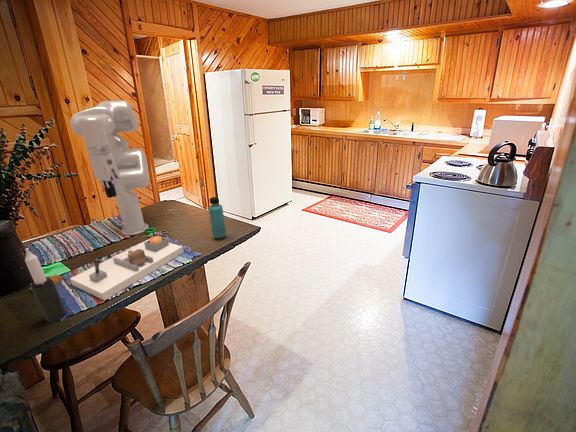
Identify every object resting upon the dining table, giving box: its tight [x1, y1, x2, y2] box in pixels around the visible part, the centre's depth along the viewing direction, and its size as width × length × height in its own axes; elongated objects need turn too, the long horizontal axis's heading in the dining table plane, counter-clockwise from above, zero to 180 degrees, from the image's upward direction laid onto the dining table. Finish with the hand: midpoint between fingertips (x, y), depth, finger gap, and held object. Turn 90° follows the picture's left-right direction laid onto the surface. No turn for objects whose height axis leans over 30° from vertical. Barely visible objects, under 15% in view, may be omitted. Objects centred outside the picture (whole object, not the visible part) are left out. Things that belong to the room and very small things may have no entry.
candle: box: [24, 247, 67, 324], centre depth 94 cm, size 5×5×25 cm
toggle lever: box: [93, 258, 101, 274], centre depth 110 cm, size 2×2×7 cm
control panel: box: [70, 237, 184, 302], centre depth 123 cm, size 20×36×6 cm, turn 151°
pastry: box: [29, 274, 63, 291], centre depth 115 cm, size 9×7×4 cm
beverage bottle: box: [208, 196, 227, 239], centre depth 142 cm, size 6×7×20 cm
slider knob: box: [128, 249, 146, 266], centre depth 120 cm, size 3×5×5 cm, turn 151°
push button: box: [148, 235, 163, 245], centre depth 133 cm, size 5×5×4 cm
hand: (112, 196), depth 124 cm, fingers closed
